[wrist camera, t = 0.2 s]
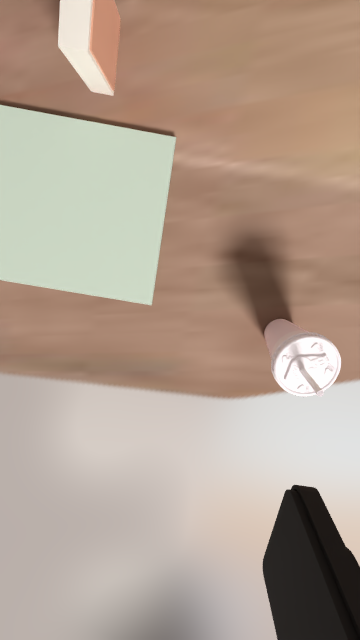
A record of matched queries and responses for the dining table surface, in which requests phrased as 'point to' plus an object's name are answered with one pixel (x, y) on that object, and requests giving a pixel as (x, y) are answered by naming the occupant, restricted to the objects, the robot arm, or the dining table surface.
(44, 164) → the mat
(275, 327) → the smoothie
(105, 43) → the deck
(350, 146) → the dining table surface
